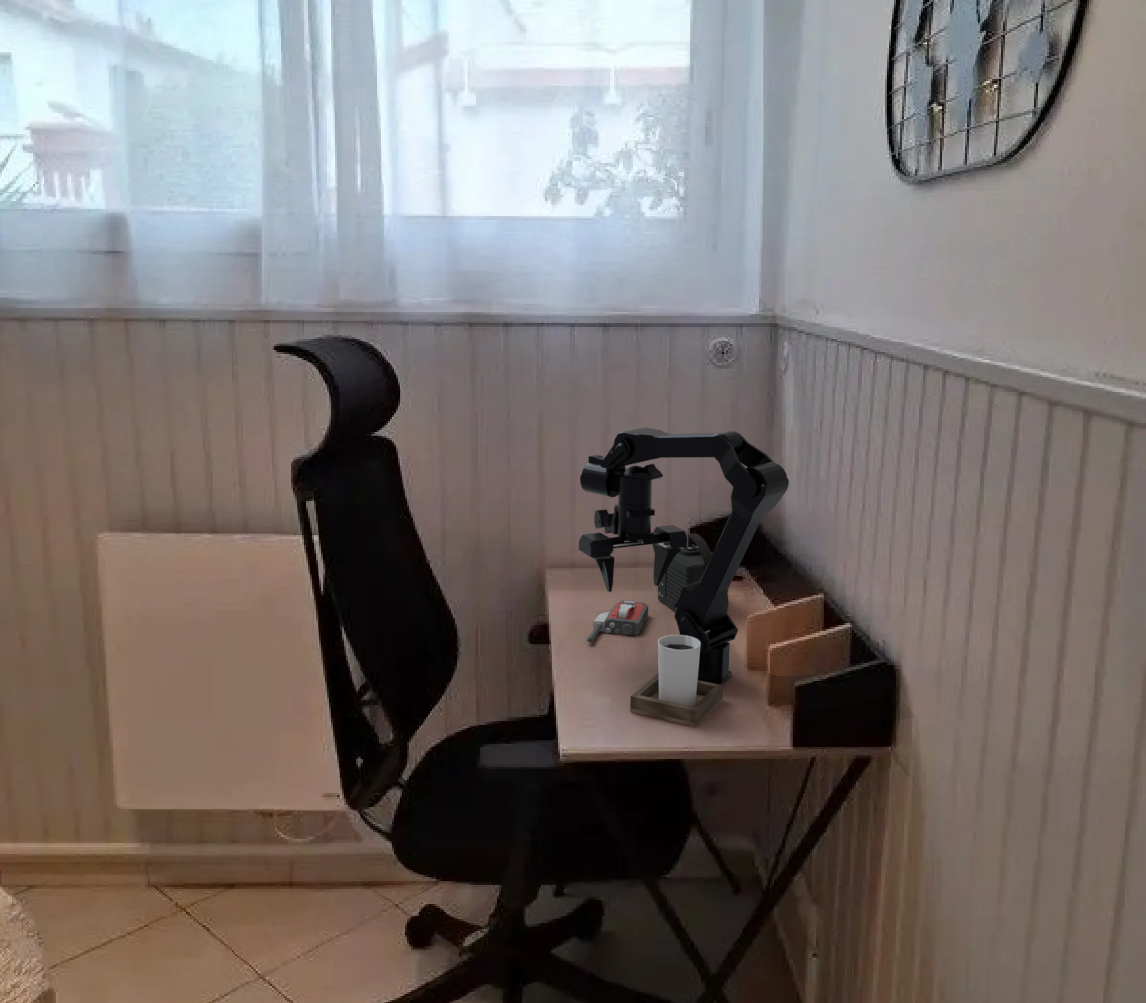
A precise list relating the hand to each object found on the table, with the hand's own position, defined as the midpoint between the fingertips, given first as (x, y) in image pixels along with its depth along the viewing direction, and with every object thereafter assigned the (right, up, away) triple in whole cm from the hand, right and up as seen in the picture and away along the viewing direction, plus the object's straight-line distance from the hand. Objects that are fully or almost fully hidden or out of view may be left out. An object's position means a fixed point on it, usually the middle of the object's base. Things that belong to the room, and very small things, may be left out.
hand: (632, 588), depth 184 cm
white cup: (+6, -16, -19) cm, 26 cm away
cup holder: (+6, -17, -19) cm, 26 cm away
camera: (+14, -6, +28) cm, 31 cm away
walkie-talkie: (-2, -9, +15) cm, 18 cm away
